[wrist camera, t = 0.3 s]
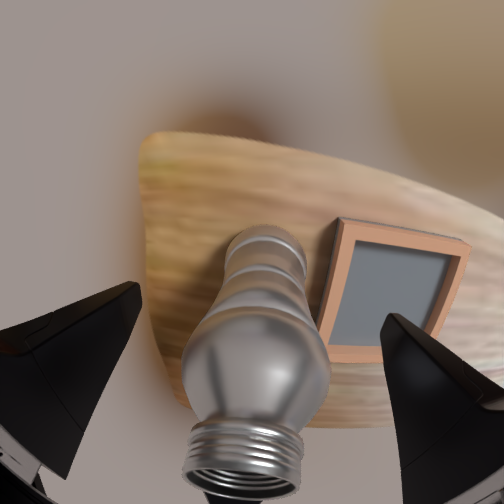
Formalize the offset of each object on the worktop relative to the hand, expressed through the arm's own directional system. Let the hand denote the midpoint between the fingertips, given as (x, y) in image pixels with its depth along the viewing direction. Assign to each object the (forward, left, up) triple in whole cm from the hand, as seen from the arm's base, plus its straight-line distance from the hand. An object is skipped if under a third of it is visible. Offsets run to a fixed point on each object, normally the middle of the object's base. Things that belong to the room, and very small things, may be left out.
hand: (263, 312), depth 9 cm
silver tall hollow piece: (-4, 0, -15) cm, 16 cm away
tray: (-7, -13, -15) cm, 21 cm away
